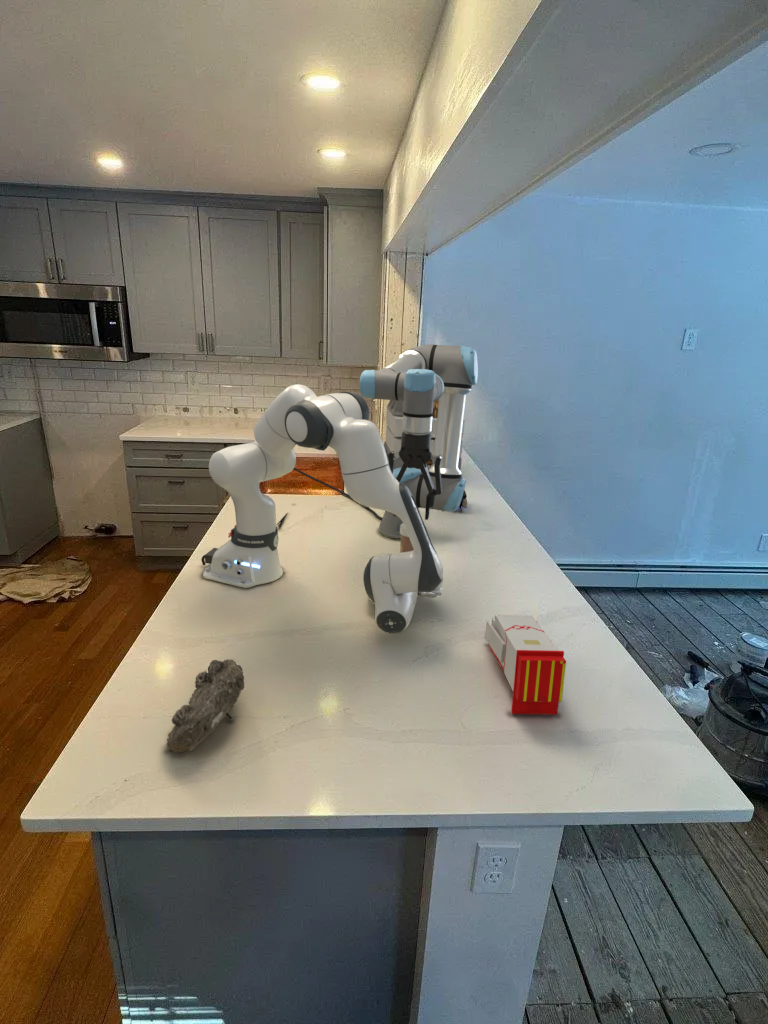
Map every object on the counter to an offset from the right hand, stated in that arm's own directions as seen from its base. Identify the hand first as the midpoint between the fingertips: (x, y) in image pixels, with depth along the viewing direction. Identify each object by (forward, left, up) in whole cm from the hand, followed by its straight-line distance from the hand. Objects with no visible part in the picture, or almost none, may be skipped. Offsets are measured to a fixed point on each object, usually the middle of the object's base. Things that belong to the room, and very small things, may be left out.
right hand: (411, 516), depth 152 cm
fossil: (+15, -65, -23) cm, 70 cm away
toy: (+43, -6, -23) cm, 49 cm away
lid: (0, 0, -3) cm, 3 cm away
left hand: (-1, +1, -16) cm, 16 cm away
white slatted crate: (-86, +88, -23) cm, 125 cm away
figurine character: (-41, +66, -23) cm, 81 cm away
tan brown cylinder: (0, 0, -23) cm, 23 cm away
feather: (-70, +4, -23) cm, 74 cm away
